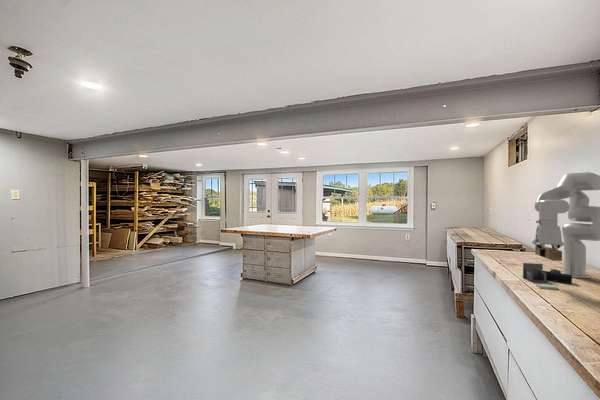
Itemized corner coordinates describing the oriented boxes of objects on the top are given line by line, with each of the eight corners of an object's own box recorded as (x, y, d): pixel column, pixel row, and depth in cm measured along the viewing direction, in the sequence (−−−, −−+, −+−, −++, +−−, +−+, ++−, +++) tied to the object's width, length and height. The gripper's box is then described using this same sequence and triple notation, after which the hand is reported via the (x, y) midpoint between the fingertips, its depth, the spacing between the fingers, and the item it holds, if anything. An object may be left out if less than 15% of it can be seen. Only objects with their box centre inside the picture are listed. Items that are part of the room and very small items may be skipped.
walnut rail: (535, 254, 160) (535, 245, 160) (543, 254, 160) (543, 245, 159) (552, 260, 145) (552, 250, 145) (561, 260, 144) (562, 251, 144)
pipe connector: (539, 266, 172) (573, 271, 161) (539, 275, 172) (573, 280, 161) (535, 270, 165) (570, 275, 153) (535, 279, 165) (570, 285, 153)
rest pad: (536, 286, 151) (536, 284, 151) (554, 287, 148) (554, 285, 148) (540, 288, 147) (540, 286, 147) (559, 289, 144) (559, 287, 144)
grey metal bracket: (522, 278, 165) (522, 262, 165) (541, 279, 163) (541, 263, 162) (528, 281, 158) (528, 265, 158) (548, 283, 156) (548, 266, 156)
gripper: (533, 223, 151) (532, 257, 151) (571, 224, 146) (571, 259, 146) (526, 222, 158) (526, 254, 158) (562, 222, 153) (562, 256, 154)
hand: (547, 256), depth 152 cm, fingers closed on walnut rail, 4 cm apart
